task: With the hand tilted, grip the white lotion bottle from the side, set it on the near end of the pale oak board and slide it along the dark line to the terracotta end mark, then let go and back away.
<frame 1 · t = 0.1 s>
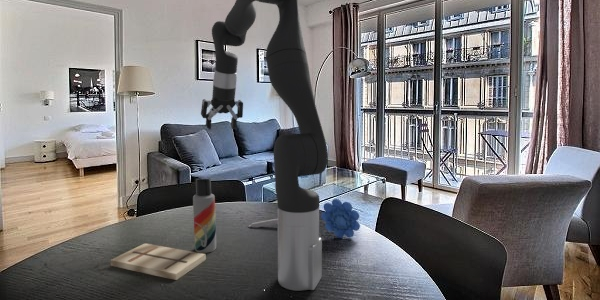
hand: (221, 128, 122), 31 cm above the table, tool tilted 20°, fingers open, 8 cm apart
oak board: (159, 262, 85), on the table
lotion bottle: (205, 249, 94), on the table
blue flower: (340, 239, 101), on the table
caliper: (279, 228, 111), on the table
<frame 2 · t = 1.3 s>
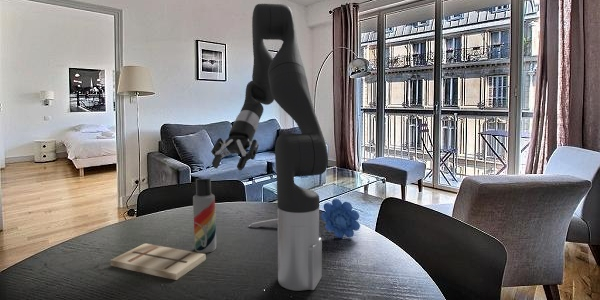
hand: (226, 167, 102), 21 cm above the table, tool tilted 45°, fingers open, 8 cm apart
nothing on the table moved.
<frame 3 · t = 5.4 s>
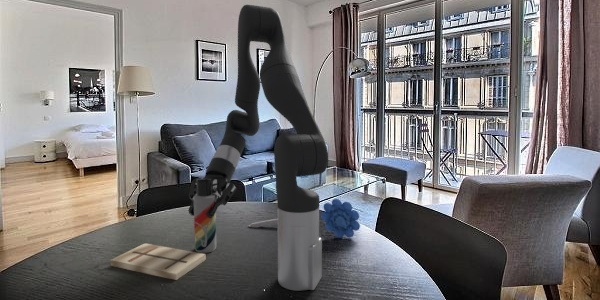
hand: (199, 215, 91), 10 cm above the table, tool tilted 45°, fingers closed on lotion bottle, 5 cm apart
lotion bottle: (205, 249, 94), on the table, touching gripper
everything else where it was.
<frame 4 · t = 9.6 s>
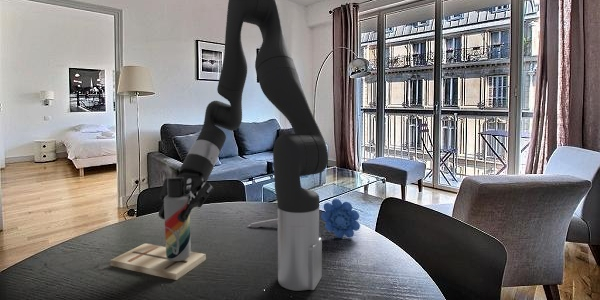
hand: (171, 219, 80), 13 cm above the table, tool tilted 45°, fingers closed on lotion bottle, 5 cm apart
lotion bottle: (178, 257, 83), point 2 cm above the table, touching gripper
everything else where it was.
when the fingers open (12 cm above the table, at t = 13.6 s): lotion bottle stays where it is, resting on oak board.
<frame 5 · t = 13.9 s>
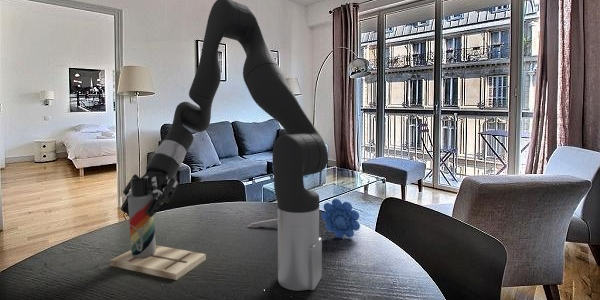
hand: (136, 213, 84), 13 cm above the table, tool tilted 45°, fingers open, 7 cm apart
lotion bottle: (144, 254, 87), point 1 cm above the table, touching oak board
everything else where it was.
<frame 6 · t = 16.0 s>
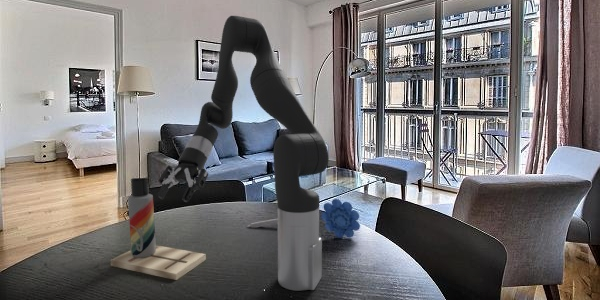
hand: (172, 199, 96), 13 cm above the table, tool tilted 45°, fingers open, 8 cm apart
nothing on the table moved.
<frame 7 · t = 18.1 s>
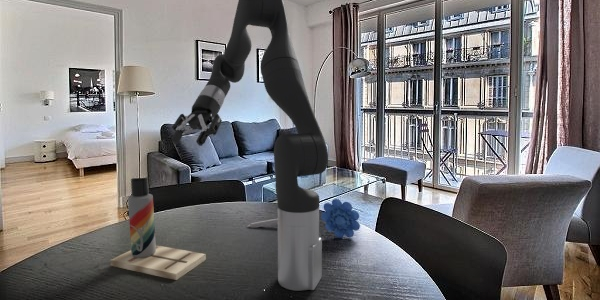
hand: (186, 143, 96), 29 cm above the table, tool tilted 45°, fingers open, 8 cm apart
nothing on the table moved.
at the end: lotion bottle 0.1 cm from the target spot on the oak board, point 1.4 cm above the oak board's base; lotion bottle tilted 0°; the gripper is holding nothing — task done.
